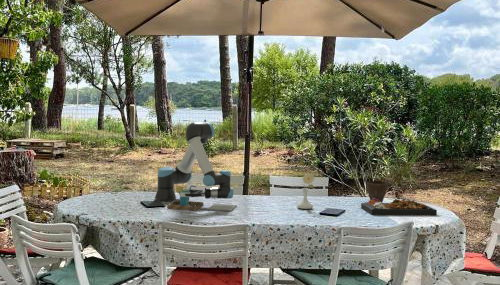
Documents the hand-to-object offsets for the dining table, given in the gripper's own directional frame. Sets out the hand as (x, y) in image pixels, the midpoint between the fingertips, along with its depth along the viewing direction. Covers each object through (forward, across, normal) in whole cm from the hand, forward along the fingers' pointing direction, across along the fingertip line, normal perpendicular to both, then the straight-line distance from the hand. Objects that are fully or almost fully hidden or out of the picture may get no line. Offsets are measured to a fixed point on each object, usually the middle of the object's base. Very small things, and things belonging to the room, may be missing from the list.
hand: (179, 193), depth 425 cm
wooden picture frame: (-4, -1, -9) cm, 10 cm away
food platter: (-149, -21, -10) cm, 151 cm away
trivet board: (-29, -7, -9) cm, 31 cm away
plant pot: (-144, +9, -10) cm, 145 cm away
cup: (-4, -1, -10) cm, 11 cm away
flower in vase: (-87, -9, -10) cm, 88 cm away
